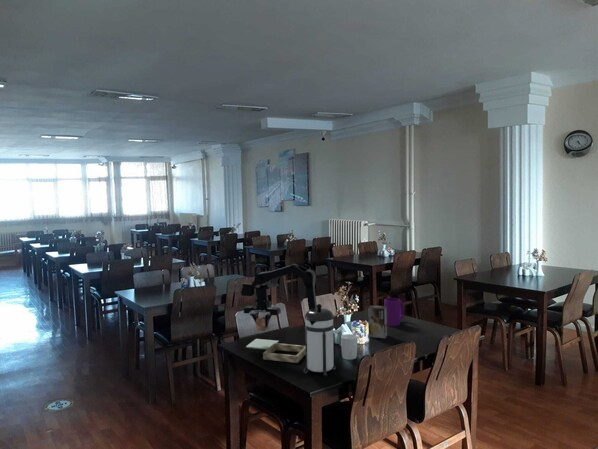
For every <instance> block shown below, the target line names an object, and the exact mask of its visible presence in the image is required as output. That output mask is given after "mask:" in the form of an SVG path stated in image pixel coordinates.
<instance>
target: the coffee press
mask: <svg viewBox="0 0 598 449" xmlns="http://www.w3.org/2000/svg"><path fill="white" fill-rule="evenodd" d="M316 307H317V308H315V309H311V310H309V309H308V310H307V311H306V312H305V315H304V319H305V324H304V328H305V331H304V333H305V336H304V337H305V346H306V354H305V367H304V368H303V373H304V374H308V372H310V371H311V372H314V373H321V374H322V375H323V376H322V377H325V378H326V377H328V373H327V372H329V371H331V370H336V369H337V366H336V365H335V363H334V360H335V359H334V355H335V354H334V328H335V327H334V326H335V325H334V318H335V315H334V314H333V312H332V311H331V310H330V309H328V308H324V307H323V306H322V304H320V303H317V306H316Z"/></svg>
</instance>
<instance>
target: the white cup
mask: <svg viewBox="0 0 598 449" xmlns="http://www.w3.org/2000/svg"><path fill="white" fill-rule="evenodd" d="M358 338H359V337H358V335H356V334H351V333H349V334H348V333H347V334H342V335H341V336H340V343H341V344H340V345H341V346H340V347H341V355H342V356H341V357H342V358H343V359H344V360H348V361H350V360H351V361H352V360H355V359H357V353H358Z"/></svg>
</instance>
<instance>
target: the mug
mask: <svg viewBox="0 0 598 449" xmlns="http://www.w3.org/2000/svg"><path fill="white" fill-rule="evenodd" d="M383 302H384V303H383V304H384V305H383V306H386V307H387V327H399V326H400V325H401V320H402V319H403V317H404V314H405V306H404V303H403V301H402V300H401V299H400V298H396V297H386V298H384V300H383Z"/></svg>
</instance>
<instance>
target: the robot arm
mask: <svg viewBox="0 0 598 449" xmlns="http://www.w3.org/2000/svg"><path fill="white" fill-rule="evenodd" d="M292 273H293V274H294V275H296V276H297V277H299V278H300V279H302V283H303V285H304V288H305V290H306V298H307V306H308V311H309V310H311V309H315V308H317V307H316V306H317V304H318V303H317V297H316V296H317V295H316V289H315V286H316V280H317V279H316V278H317V273H316V271H315V270H313V269H308V268H306V267H305V266H301V265H300V264H298V263H293V264H290V265H288V266H284V267H281V268H277V269H275V270H271V271H270V270H268V271H266V270H265V271H261V272H258V273H257V274H255V276H254V279H253V282H252V283H247V282H244V283H242V286H241V290H240V294H241V296H242V297H247V298H248V297H251V298H253V297H254V296H255V300H254V302H255V303H256V304H255V305H256V306H254V305H247V306H245V307H244V308H243V311H242V312H243V314H249V315H250V316H251V317H252V318H253V320H254V322H255V324H256V319H257V318H258V317H259V314H260V313H266V314H265V315H264V317H265V321H266V327H268V328H269V324H270V320H271V318H272V316H278V315H280V314H282V311H281V310H282V309H281V308H280V307H279V306H278V307H276V306H274V307H272V304H273V302H272V301H271V300H269V297H268V290H270V289H271V288H272V286H271V285H270V284H269V283H267V282H270V281H271V280H273V279H277V278H279V277H283V276H285V275H289V274H292Z"/></svg>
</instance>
